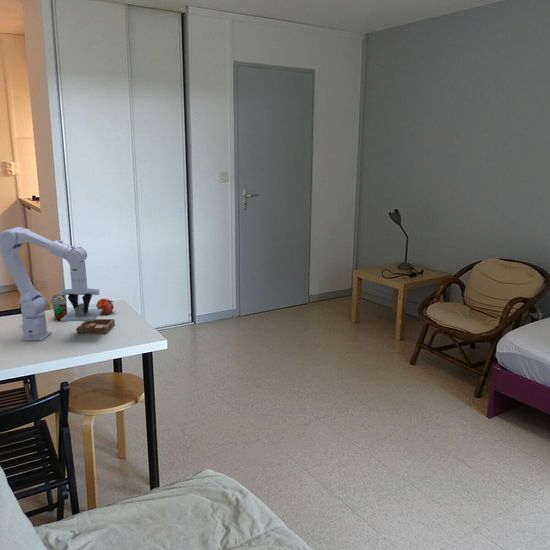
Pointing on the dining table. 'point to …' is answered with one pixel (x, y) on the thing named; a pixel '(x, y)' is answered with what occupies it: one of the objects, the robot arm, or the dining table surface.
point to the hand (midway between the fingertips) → (81, 312)
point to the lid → (81, 314)
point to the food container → (59, 306)
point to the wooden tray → (96, 326)
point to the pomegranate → (105, 305)
